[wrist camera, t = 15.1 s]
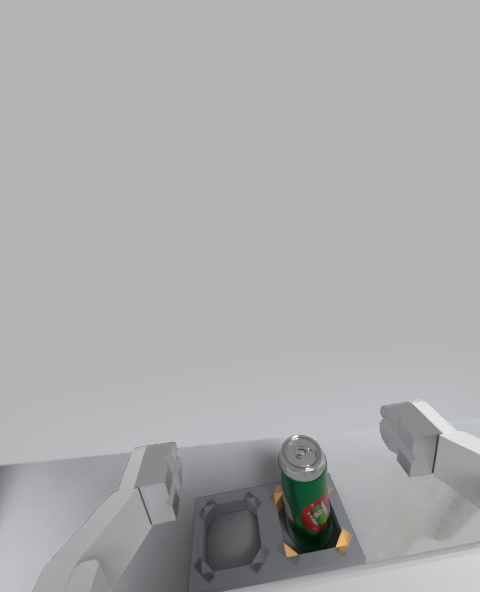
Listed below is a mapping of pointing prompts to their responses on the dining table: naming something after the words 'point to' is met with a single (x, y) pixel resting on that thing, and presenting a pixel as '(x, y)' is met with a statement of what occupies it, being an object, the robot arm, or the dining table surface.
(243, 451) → the dining table surface
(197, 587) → the socket board
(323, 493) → the soda can
